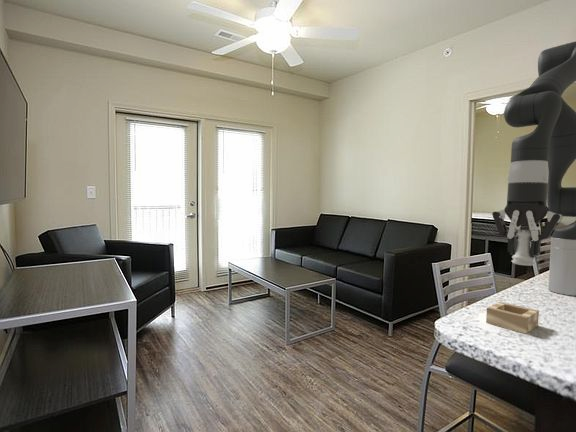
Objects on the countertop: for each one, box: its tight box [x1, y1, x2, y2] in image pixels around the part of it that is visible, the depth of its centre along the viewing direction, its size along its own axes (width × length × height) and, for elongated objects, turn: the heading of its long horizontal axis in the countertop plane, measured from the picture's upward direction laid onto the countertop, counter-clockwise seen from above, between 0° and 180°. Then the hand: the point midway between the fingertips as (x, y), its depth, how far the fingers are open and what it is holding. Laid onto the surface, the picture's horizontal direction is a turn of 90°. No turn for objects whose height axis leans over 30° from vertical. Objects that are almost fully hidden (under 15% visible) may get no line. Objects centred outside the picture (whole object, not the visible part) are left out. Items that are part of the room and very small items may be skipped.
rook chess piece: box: [511, 228, 535, 267], centre depth 78 cm, size 4×4×8 cm
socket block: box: [485, 301, 540, 334], centre depth 78 cm, size 8×8×4 cm
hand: (522, 255), depth 78 cm, fingers closed on rook chess piece, 3 cm apart
